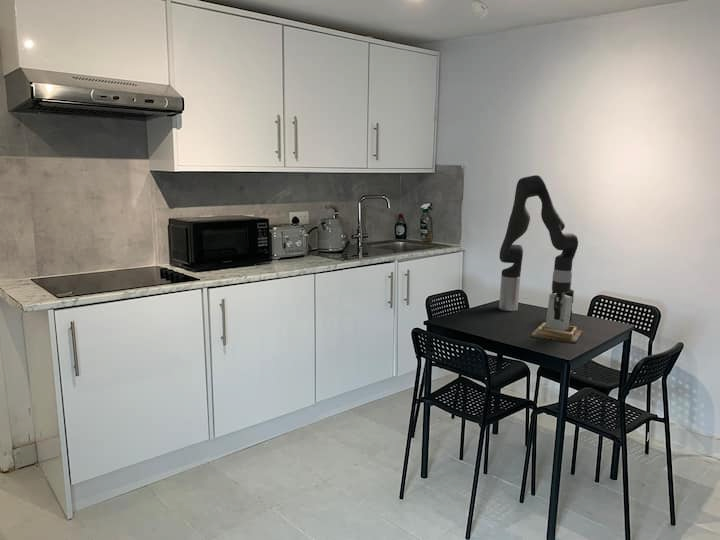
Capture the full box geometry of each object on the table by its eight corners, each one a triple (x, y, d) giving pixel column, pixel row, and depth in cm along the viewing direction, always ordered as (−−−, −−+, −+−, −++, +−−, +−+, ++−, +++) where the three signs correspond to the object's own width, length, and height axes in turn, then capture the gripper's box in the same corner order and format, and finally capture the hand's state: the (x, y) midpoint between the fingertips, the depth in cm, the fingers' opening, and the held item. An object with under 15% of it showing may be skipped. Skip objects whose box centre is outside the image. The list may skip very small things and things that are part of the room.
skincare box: (545, 327, 241) (547, 294, 238) (551, 325, 245) (554, 292, 242) (563, 331, 235) (566, 297, 232) (570, 329, 239) (573, 295, 236)
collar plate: (540, 326, 252) (540, 320, 252) (582, 333, 244) (582, 326, 243) (531, 336, 237) (531, 329, 236) (575, 343, 228) (576, 336, 228)
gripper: (555, 276, 244) (552, 312, 247) (549, 281, 232) (546, 320, 235) (573, 278, 241) (570, 315, 244) (568, 283, 228) (564, 322, 231)
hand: (558, 317), depth 239 cm, fingers closed on skincare box, 6 cm apart
